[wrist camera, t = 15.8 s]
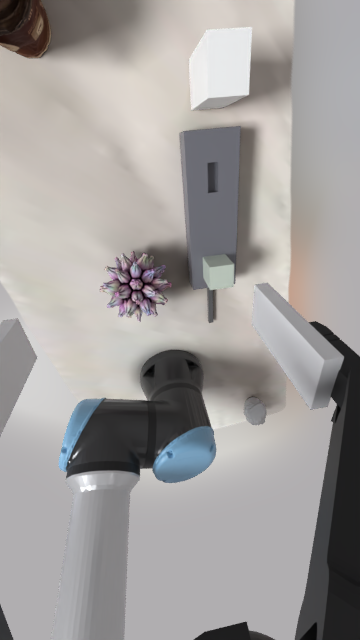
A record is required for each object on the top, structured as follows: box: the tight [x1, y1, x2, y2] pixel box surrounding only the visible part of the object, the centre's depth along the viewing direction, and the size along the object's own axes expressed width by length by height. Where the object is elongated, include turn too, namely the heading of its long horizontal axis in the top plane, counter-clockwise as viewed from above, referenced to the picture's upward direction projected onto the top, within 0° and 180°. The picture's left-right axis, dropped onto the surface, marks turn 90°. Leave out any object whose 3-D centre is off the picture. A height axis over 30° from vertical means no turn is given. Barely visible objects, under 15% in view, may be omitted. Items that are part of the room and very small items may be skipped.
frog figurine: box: [244, 397, 266, 425], centre depth 72 cm, size 6×7×7 cm
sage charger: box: [203, 254, 234, 290], centre depth 45 cm, size 4×4×5 cm
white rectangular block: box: [189, 27, 252, 111], centre depth 32 cm, size 5×5×11 cm
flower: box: [100, 251, 171, 322], centre depth 45 cm, size 12×12×12 cm
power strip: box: [179, 126, 241, 323], centre depth 47 cm, size 34×8×5 cm, turn 5°
